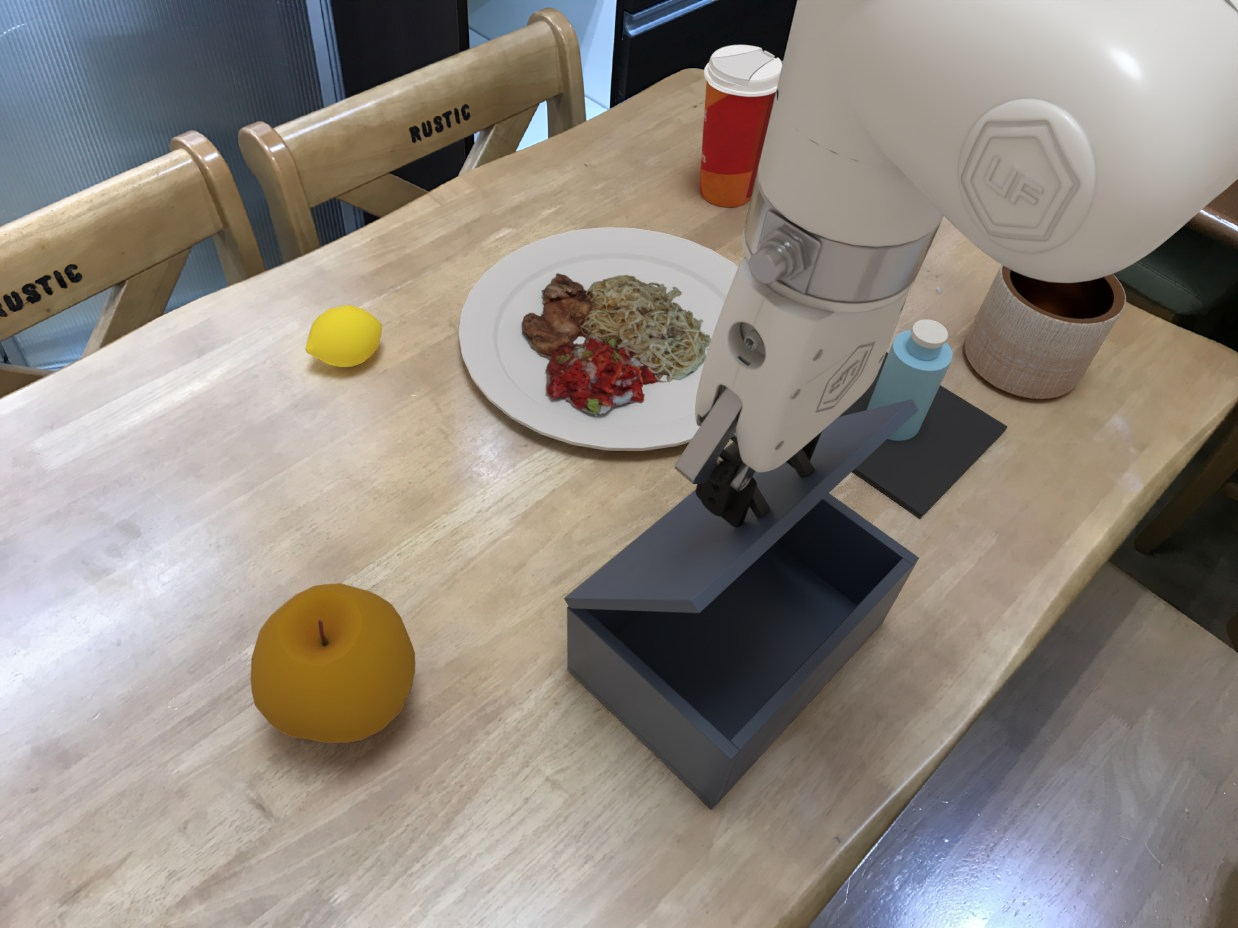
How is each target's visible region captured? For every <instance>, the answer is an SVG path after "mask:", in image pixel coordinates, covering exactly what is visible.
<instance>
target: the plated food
mask: <svg viewBox="0 0 1238 928" xmlns="http://www.w3.org/2000/svg"><path fill="white" fill-rule="evenodd" d="M738 267H739V265H737V264H736V263H735V262H734V261H731V260H729V258H726V257H724V256H723V255H721V254H719V253H718V252H716V251H714V249H711V248H709V247H706V246H703V245H702V244H699V243H697V242H694V241H692V240H690V239H687V238H683V237H680V236H676V235H672V234H669V233H665V232H662V231H656V230H650V229H644V228H643V229H642V228H636V227H619V226H618V227H616V226H615V227H614V226H613V227H611V226H610V227H609V226H601V227H592V228H591V227H589V228H582V229H581V228H580V229H573V230H568V231H564V232H560V233H555V234H552V235H551V234H550V235H548V236H546V237H542V238H541V239H537V240H535V241H532V242H530V243H527V244H524V245H523V246H521V247H518V248H517V249H516V250H514V251H512V252H510V253H508V254H507V255H504V256H503V257H502V258H501V259H499V260H498V261H497V262H496V263H494V265H492V266H491V267H490V268H488V269H487V270H486V271H485V272H484V273H483V274H482V275H481V277H480V278H479V279H478V281H477V282H476V283H475V284H474V286H473V287H472V288H471V289H470V291H469V293H468V295H467V297H466V300H465V302H464V305H463V306H462V309H461V310H460V311H461V313H460V320H459V326H458V339H459V345H460V352H461V358H462V360H463V363H464V365H465V367H466V369H467V371H468V373H469V376H470V378H471V380H472V381H473V383H474V384H475V385H476V387H477V388H478V389H479V390H480V391H481V393H482V394H483V395H484V396H485V398H486V399H487V400H488V401H489V402H490V403H491V404H492V405H494V406H495V407H496V408H498V409H499V410H500V411H501V412H502V413H503V414H505V415H506V416H508V417H509V418H510V419H511V420H513V421H515V422H516V423H519V424H520V425H522V426H524V427H526V428H528V429H529V430H532V431H534V432H536V433H538V434H539V435H542V436H545V437H547V438H551V439H554V440H557V441H560V442H563V443H566V444H568V445H572V446H579V447H584V448H590V449H597V450H600V451H601V450H602V451H608V452H609V451H611V452H612V451H617V452H618V451H619V452H621V451H623V452H624V451H625V452H645V451H653V450H659V449H666V448H673V447H674V448H675V447H678V446H682V445H685V444H689V443H690V441H691V440H692V438H693V436H694V435H695V433H696V432H697V430H698V429H699V427H700V426H698V425H697V423H696V419H695V403H696V396H697V391H698V386H699V382H700V378H701V373H702V369H703V366H704V362H705V359H706V355H707V352H708V348H709V345H710V342H711V339H712V336H713V333H714V330H715V327H716V324H717V321H718V318H719V315H720V312H721V310H722V307H723V304H724V302H725V299H726V296H727V294H728V291H729V288H730V286H731V284H732V281H733V279H734V276H735V274H736V271H737V269H738Z"/></svg>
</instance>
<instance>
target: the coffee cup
mask: <svg viewBox="0 0 1238 928" xmlns="http://www.w3.org/2000/svg"><path fill="white" fill-rule="evenodd" d="M775 56H776V55H774V54H772V53H771V52H769V51H767V50H763V48H762V47H759V46H755V45H748V44H732V45H726V46H723V47H720V48H719V49H716V50H715V51H714V52H712V54H711V56H710V58H709V61H708V62H707V64H706V65H705V66H704V69H703V76H704V78H705V80H706V81H705V82H706V83H705V84H706V85H705V98H704V110H703V111H704V113H703V126H702V139H701V140H702V141H701V155H700V169H699V170H700V172H699V173H700V174H699V175H700V177H699V193H700V195H701V197H702V198H703V200H705V201H707V202H708V203H709V204H712V205H714V206H717V207H721V208H737V207H741V206H744V205H746V204H747V203H748V202H750V201H751V196H752V192H753V188H754V183H755V179H756V175H757V171H758V167H759V162H760V158H761V154H762V150H763V145H764V141H765V137H766V133H767V128H768V124H769V120H770V115H771V111H772V107H773V103H774V98H775V94H776V90H777V86H778V81H779V77H780V73H781V68H782V64H783V61H782V60H781V59H780V58H779V57H775Z"/></svg>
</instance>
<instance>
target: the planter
mask: <svg viewBox="0 0 1238 928" xmlns="http://www.w3.org/2000/svg"><path fill="white" fill-rule="evenodd" d="M1126 303H1127V295H1126V291H1125V289H1124V287H1123V284H1122V283H1121V282H1120V281H1119V279H1118V278H1117V276H1116V275H1115V274H1114V273H1113V274H1110V275H1107V276H1104V277H1101V278H1098V279H1094V280H1090V281H1083V282H1074V283H1060V282H1048V281H1043V280H1039V279H1034V278H1030V277H1027V276H1025V275H1022V274H1019V273H1017V272H1015V271H1013V270H1011V269H1009V268H1007V267H1005V266H1004V265H1002V264H1000V265H999V267H998V270H997V272H996V275H995V277H994V278H993V280H992V283H991V285H990V287H989V288H988V291H987V293H986V295H985V297H984V299H983V301H982V303H981V305H980V307H979V308H978V311H977V313H976V315H975V316H974V319H973V320H972V323H971V325H970V327H969V328H968V331H967V333H966V337H965V341H964V353H965V357H966V359H967V361H968V363H969V364H970V366H971V367H972V369H973V370H974V371H975V372H976V373H977V374H978V375H979V376H980V377H981V378H982V379H983V380H984V381H985V382H987V383H989V384H990V385H992V386H993V387H995V388H997V389H998V390H1001V391H1003V392H1005V393H1008V394H1010V395H1013V396H1016V397H1021V398H1025V399H1032V400H1033V399H1034V400H1047V399H1048V400H1049V399H1055V398H1058V397H1062V396H1064V395H1066V394H1068V393H1069V392H1071V391H1072V390H1073V389H1074V388H1075V387H1076V386H1078V384H1079V383H1080V381H1081V380H1082V379H1083V377H1084V375H1085V374H1086V372H1087V370H1088V369H1089V367H1090V365H1091V364H1092V362H1093V360H1094V359H1095V357H1096V355H1097V354H1098V352H1099V351H1100V349H1101V347H1102V346H1103V344H1104V342H1105V340H1106V339H1107V338H1108V336H1109V334H1110V333H1111V331H1112V329H1113V328H1114V326H1115V324H1116V323H1117V321H1118V319H1119V318H1120V317H1121V315H1122V313H1123V311H1124V310H1125V307H1126Z"/></svg>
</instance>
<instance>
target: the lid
mask: <svg viewBox="0 0 1238 928" xmlns="http://www.w3.org/2000/svg"><path fill="white" fill-rule="evenodd" d="M917 411H918V408H917V407H916V405H915V403H914V401H913V399H911V400H906V401H902V402H898V403H894V404H890V405H886V406H882V407H878V408H874V409H870V410H865V411H861V412H857V413H853V414H849V415H845V416H841V417H838V418H836V419H835V420H834V421H833V422H832V423H831V424H830V425H828V426H827V427H826V428H825V429H824V430H823V431H822V433H821V436H820V438H819V440H818V443H817V445H816V448H815V450H814V453H813V455H812V457H811V460H810V461H809V459H808V457H807V456H806V454H805V452H804V450H803V449H801V450H799V451H798V452H797V453H796V454H795V455H793V456H792V457H791V458H790V461H791V463H792V464H793V466H794V468H795V469H794V468H793V467H792V466H790V465H789V464H788V463H786V462H785V463H783V464H782V465H781V466H779V467H778V468H776V469H774V470H771V471H767V472H756V471H755V473H754V475H753V478H754V479H755V480H756V482H757V486H756V489H755V492H754V495H753V498H752V500H751V503H750V506H749V509H748V512H747V515H746V518H745V521H744V522H743V523H742V524H741V525H740V526H739V527H733V526H732V525H730V524H729V523H728V522H727V521H726V520H724V519H723V518H722V517H721V516H720V517H719V516H715V515H714V514H712V513H711V512H710V511H709V510H707V509H706V508H705V507H704V505H703V504H702V502H701V500H700V499H699V498H698V497H697V495H696V493H695V491H696V489H694V490H693V491H692V492H690V494H688V495H687V496H685V498H684V499H683V498H682V500H680V501H679V502H678V503H677V504H675V506H674V507H672V508H671V509H670V510H669V511H667V512H666V513H665V514H664V515H662V517H660V518H659V519H658V520H657V521H655V522H653V524H652V525H651V526H649V527H648V528H647V529H646V530H644V531H643V532H642V533H640V535H638V537H636V538H635V539H633V540H632V541H631V542H630V543H629V544H628V545H626V546H625V547H623V549H621V550H620V551H619V552H618V553H617V554H615V555H614V556H613V557H612V558H611V559H610V560H608V561H607V562H606V563H604V564H603V565H602V566H601V567H599V568H598V569H597V570H596V571H594V573H593V574H591V575H590V576H589V577H588V578H586V579H585V580H583V582H581V583H580V584H579V585H578V586H577V587H576V588H574V589H573V590H572V591H570V592H569V593H568V594H566V596H564V597H563V599H564V601H565V603H566V604H567V607H568V606H569V607H570V608H578V609H605V610H631V611H658V612H685V613H700V612H701V611H702V610H703V609H704V608H705V607H706V606H707V605H709V604H710V603H711V602H712V601H713V600H714V599H715V598H716V597H717V596H718V595H719V594H720V593H721V592H723V591H724V590H725V589H726V588H727V587H728V586H729V585H730V584H731V583H732V582H733V581H734V580H736V579H737V578H738V577H739V576H740V575H741V574H742V573H743V572H744V571H745V570H746V569H747V568H748V567H750V566H751V565H752V564H753V563H754V562H755V561H756V560H757V559H758V558H759V557H760V556H761V555H762V554H764V553H765V552H766V551H767V550H768V549H769V548H770V547H771V546H772V545H773V544H774V543H775V542H777V541H778V540H779V539H780V538H781V537H782V536H783V535H784V534H785V533H786V532H787V531H788V530H789V529H791V528H792V527H793V526H794V525H795V524H796V523H797V522H798V521H799V520H800V519H801V518H802V517H803V516H805V515H806V514H807V513H808V512H809V511H810V510H811V509H812V508H813V507H814V506H815V505H816V504H818V503H819V502H820V501H821V500H822V499H823V498H824V497H825V496H826V495H827V494H828V493H831V492H832V491H833V490H834V489H835V488H836V487H837V486H838V485H840V483H842V482H843V481H844V480H845V479H846V478H847V477H848V476H849V475H850V474H852V473H853V472H852V471H853V470H854V469H855V468H856V467H857V466H859V465H860V464H861V463H862V462H863V461H864V460H865V459H866V458H867V457H868V456H869V455H870V454H871V453H873V452H874V451H875V450H876V449H877V448H878V447H879V446H880V445H881V444H882V443H883V442H884V441H885V440H887V439H888V438H889V437H890V436H891V435H892V434H893V433H894V432H895V431H896V430H897V429H898V428H900V427H901V426H902V425H903V424H904V423H905V422H906V421H907V420H908V419H909V418H910V417H911V416H912V415H914V414H915V413H916V412H917ZM724 449H725V450H726V451H727V452H729V453H730V454H731V455H732V456H734V457H735V458H736V459H737V460H739V461H740V462H741V460H742V459H741V456H740V452H739V447H738V445H737V444H736V443H735V442H733V441H732V442H731V443H730V444H729V445H727V446H726V447H725V448H724Z"/></svg>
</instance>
